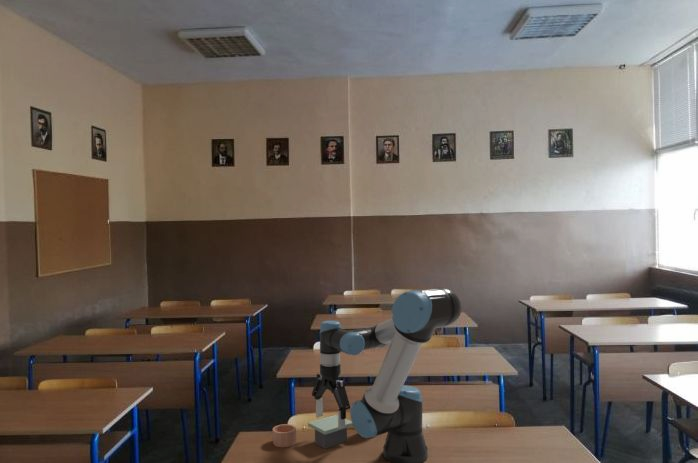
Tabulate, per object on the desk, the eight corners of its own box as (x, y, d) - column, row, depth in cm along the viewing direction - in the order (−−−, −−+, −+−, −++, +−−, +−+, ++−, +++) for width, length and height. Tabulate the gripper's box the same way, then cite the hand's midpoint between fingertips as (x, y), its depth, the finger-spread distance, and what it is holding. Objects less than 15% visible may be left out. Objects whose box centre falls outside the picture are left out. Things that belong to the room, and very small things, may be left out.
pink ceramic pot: (300, 442, 180) (300, 429, 180) (280, 449, 175) (280, 435, 175) (288, 435, 186) (288, 422, 186) (268, 441, 181) (268, 428, 181)
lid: (353, 425, 180) (353, 422, 180) (325, 434, 172) (324, 431, 172) (336, 417, 188) (336, 414, 188) (308, 426, 180) (308, 422, 180)
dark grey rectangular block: (346, 441, 181) (346, 424, 181) (324, 448, 175) (324, 431, 175) (337, 436, 186) (336, 420, 186) (315, 443, 179) (314, 426, 179)
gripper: (360, 369, 173) (360, 430, 173) (318, 355, 193) (318, 409, 193) (343, 373, 168) (343, 435, 168) (302, 358, 188) (302, 414, 188)
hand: (330, 422), depth 181 cm, fingers open, 13 cm apart
